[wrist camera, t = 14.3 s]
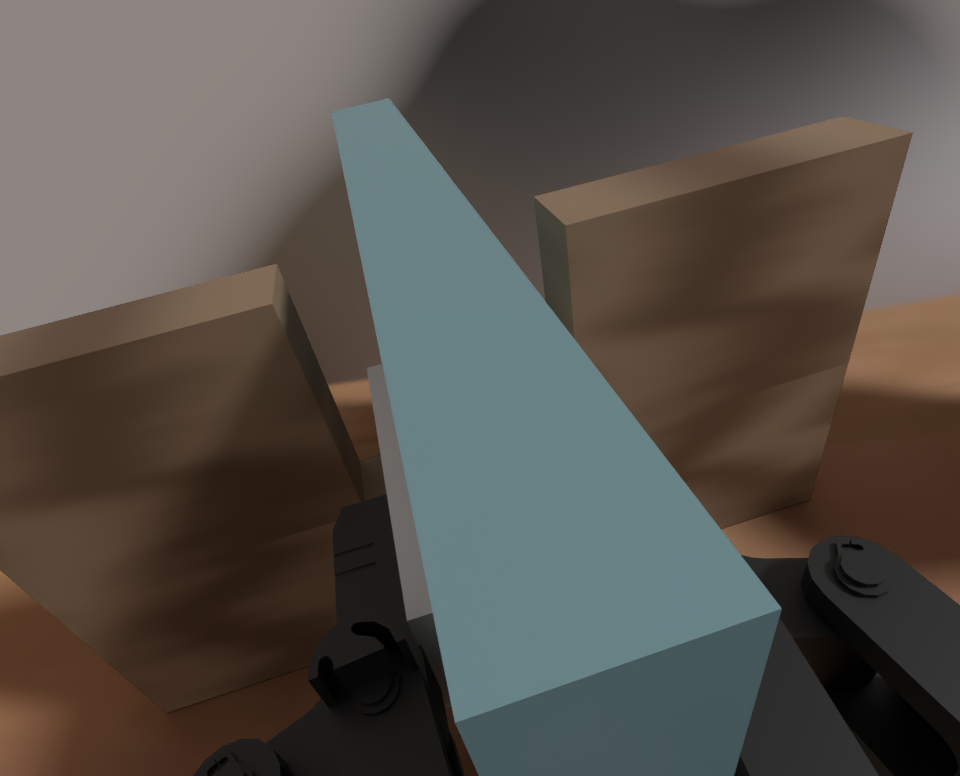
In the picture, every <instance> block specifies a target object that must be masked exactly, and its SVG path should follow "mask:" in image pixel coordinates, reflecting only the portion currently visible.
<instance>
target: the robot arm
mask: <svg viewBox="0 0 960 776" xmlns="http://www.w3.org/2000/svg"><path fill="white" fill-rule="evenodd" d="M367 373H368V380H369V386H370V392H371V398H372V405H373V411H374V417H375V424H376V430H377V436H378V442H379V449H380V455H381V461H382V468H383V474H384V480H385V486H386V493H387V494H385V495H382V496H379V497H375V498H372V499H369V500H365V501H362V502H359V503H356V504H352V505H349V506H346V507H342V509H341V512H340V514H339V516H338V519H337V521H336V524H335V526H334V529H333V531H332V532H333V553H334V558H335V559H334V574H335V578H336V579H335V595H336V616H337V625H336V626H334V627H333V628H332V629H331V630H330V631H329V632H328V633H327V634H326V635H325V636H324V638H323V639H322V640H321V641H320V642H319V643H318V646H317V648H316V650H315V652H314V654H313V656H312V659H311V661H310V669H309V680H308V681H309V682H310V684H311V685H312V686H313V688H314V689H315V690H316V692H317V693H318V694H319V696H320V697H321V699H320V700H319V702H318V703H317V704H316V705H315V707H313V708H312V709H311V710H310V711H309V712H308V713H306V714H305V715H304V716H303V717H302V718H300V719H299V720H297V721H296V722H295V723H293V724H292V725H290V726H289V727H288V728H286V729H285V730H283V731H282V732H281V733H279V734H278V735H276V736H275V737H274V738H272V739H271V740H270V741H268V742H267V743H264V742H262V741H260V740H259V739H240V740H238V741H235V742H233V743H230V744H228V745H225V746H223V747H221V748H220V749H219V750H218V751H216V752H215V753H214V754H213V755H211V756H210V757H209V758H208V759H206V760H205V761H204V762H203V763H202V765H201V766H200V768H199V769H198V770H197V772H196V773H195V774H194V776H465V775H464V771H463V768H462V765H461V761H460V758H459V755H458V751H457V748H456V745H455V742H454V740H453V738H452V736H451V734H450V731H449V727H448V722H447V717H446V711H445V706H446V708H449V707H452V706H451V701H450V696H449V691H448V686H447V681H446V676H445V671H444V666H443V661H442V656H441V652H440V647H439V642H438V637H437V632H436V627H435V622H434V617H433V612H432V607H431V602H430V597H429V592H428V587H427V582H426V577H425V572H424V568H423V563H422V558H421V553H420V548H419V543H418V538H417V533H416V528H415V523H414V518H413V513H412V508H411V503H410V498H409V493H408V488H407V484H406V479H405V474H404V469H403V464H402V459H401V454H400V449H399V444H398V439H397V434H396V429H395V424H394V419H393V414H392V409H391V404H390V400H389V395H388V390H387V385H386V380H385V375H384V370H383V365H382V364H380V365H377V366H373V367H370V368H367ZM741 556H742V557H743V559H744V560H745V561H746V563H747V564H748V565H749V567H750V568H751V569H752V570H753V572H754V573H755V574H756V576H757V577H758V578H759V579H760V581H761V582H762V583H763V585H764V586H765V587H766V589H767V590H768V591H769V592H770V594H771V595H772V596H773V598H774V599H775V600H776V602H777V603H778V604H779V605H780V607H781V608H782V610H781V613H780V617H779V620H778V624H777V627H776V631H775V634H774V638H773V641H772V645H771V648H770V652H769V655H768V659H767V662H766V666H765V669H764V673H763V676H762V680H761V683H760V687H759V690H758V694H757V697H756V701H755V704H754V708H753V711H752V715H751V718H750V722H749V725H748V729H747V732H746V736H745V739H744V743H743V746H742V750H741V753H740V757H739V760H738V764H737V767H736V771H735V774H734V776H960V605H959V604H958V603H956V602H955V601H954V600H952V599H951V598H950V597H949V596H947V595H946V594H945V593H944V592H942V591H941V590H940V589H939V588H937V587H936V586H935V585H933V584H932V583H931V582H930V581H928V580H927V579H926V578H925V577H923V576H922V575H921V574H920V573H918V572H917V571H916V570H914V569H913V568H912V567H911V566H909V565H908V564H907V563H906V562H904V561H903V560H902V559H900V558H899V557H898V556H897V555H895V554H894V553H892V552H890V551H889V550H887V549H885V548H884V547H882V546H880V545H879V544H877V543H874V542H871V541H868V540H865V539H861V538H858V537H847V536H835V537H832V538H828V539H824V540H821V541H820V542H819V543H818V544H817V545H816V546H814V547H813V548H812V549H811V551H810V554H809V557H808V558H771V559H763V558H751V557H747V556H743V555H741ZM444 704H445V706H444Z"/></svg>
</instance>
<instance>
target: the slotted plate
mask: <svg viewBox="0 0 960 776" xmlns="http://www.w3.org/2000/svg"><path fill="white" fill-rule="evenodd" d="M331 113H332V118H333V122H334V128H335V133H336V137H337V143H338V147H339V152H340V157H341V162H342V167H343V172H344V177H345V182H346V187H347V192H348V196H349V202H350V206H351V212H352V217H353V222H354V227H355V231H356V236H357V241H358V246H359V251H360V256H361V261H362V266H363V271H364V276H365V281H366V286H367V290H368V296H369V300H370V305H371V311H372V315H373V320H374V325H375V330H376V335H377V340H378V345H379V350H380V355H381V360H382V365H383V370H384V375H385V380H386V385H387V390H388V395H389V400H390V404H391V409H392V414H393V419H394V424H395V429H396V434H397V439H398V444H399V449H400V454H401V459H402V464H403V469H404V474H405V479H406V484H407V488H408V493H409V498H410V503H411V508H412V513H413V518H414V523H415V528H416V533H417V538H418V543H419V548H420V553H421V558H422V563H423V568H424V572H425V577H426V582H427V587H428V592H429V597H430V602H431V607H432V612H433V617H434V622H435V627H436V632H437V637H438V642H439V647H440V652H441V656H442V661H443V666H444V671H445V676H446V681H447V686H448V691H449V696H450V701H451V706H452V711H453V716H454V721H455V724H456V726H457V729H458V731H459V733H460V735H461V737H462V740H463V742H464V744H465V746H466V749H467V751H468V753H469V755H470V757H471V760H472V762H473V764H474V766H475V768H476V771H477V773H478V775H479V776H734V774H735V771H736V767H737V764H738V760H739V757H740V753H741V750H742V746H743V743H744V739H745V736H746V732H747V729H748V725H749V722H750V718H751V715H752V711H753V708H754V704H755V701H756V697H757V694H758V690H759V687H760V683H761V680H762V676H763V673H764V669H765V666H766V662H767V659H768V655H769V652H770V648H771V645H772V641H773V638H774V634H775V631H776V627H777V624H778V620H779V617H780V613H781V610H782V608H781V607H780V605H779V604H778V603H777V602H776V600H775V599H774V598H773V596H772V595H771V594H770V592H769V591H768V590H767V589H766V587H765V586H764V585H763V583H762V582H761V581H760V579H759V578H758V577H757V576H756V574H755V573H754V572H753V570H752V569H751V568H750V567H749V565H748V564H747V563H746V561H745V560H744V559H743V557H742V556H741V555H740V554H739V552H738V551H737V550H736V548H735V547H734V546H733V544H732V543H731V542H730V541H729V539H728V538H727V537H726V535H725V534H724V533H723V531H722V530H721V529H720V528H719V526H718V525H717V524H716V522H715V521H714V520H713V518H712V517H711V516H710V515H709V513H708V512H707V511H706V509H705V508H704V507H703V505H702V504H701V503H700V502H699V500H698V499H697V498H696V496H695V495H694V494H693V492H692V491H691V490H690V489H689V487H688V486H687V485H686V483H685V482H684V481H683V480H682V478H681V477H680V476H679V474H678V473H677V472H676V470H675V469H674V468H673V467H672V465H671V464H670V463H669V461H668V460H667V459H666V457H665V456H664V455H663V454H662V452H661V451H660V450H659V448H658V447H657V446H656V444H655V443H654V442H653V441H652V439H651V438H650V437H649V435H648V434H647V433H646V431H645V430H644V429H643V428H642V426H641V425H640V424H639V422H638V421H637V420H636V418H635V417H634V416H633V415H632V413H631V412H630V411H629V409H628V408H627V407H626V405H625V404H624V403H623V402H622V400H621V399H620V398H619V396H618V395H617V394H616V393H615V391H614V390H613V389H612V387H611V386H610V385H609V383H608V382H607V381H606V380H605V378H604V377H603V376H602V374H601V373H600V372H599V370H598V369H597V368H596V367H595V365H594V364H593V363H592V361H591V360H590V359H589V357H588V356H587V355H586V354H585V352H584V351H583V350H582V348H581V347H580V346H579V344H578V343H577V342H576V341H575V339H574V338H573V337H572V335H571V334H570V333H569V331H568V330H567V329H566V328H565V326H564V325H563V324H562V322H561V321H560V320H559V318H558V317H557V316H556V315H555V313H554V312H553V311H552V309H551V308H550V307H549V306H548V304H547V303H546V302H545V300H544V299H543V298H542V297H541V295H540V294H539V293H538V291H537V290H536V289H535V288H534V286H533V285H532V283H531V282H530V281H529V280H528V278H527V277H526V276H525V274H524V273H523V272H522V271H521V269H520V268H519V267H518V266H517V264H516V263H515V261H514V260H513V259H512V257H511V256H510V255H509V254H508V252H507V251H506V250H505V249H504V247H503V246H502V244H501V243H500V242H499V241H498V239H497V238H496V237H495V235H494V234H493V233H492V231H491V230H490V229H489V228H488V226H487V225H486V224H485V222H484V221H483V220H482V219H481V217H480V216H479V215H478V213H477V212H476V211H475V209H474V208H473V207H472V206H471V204H470V203H469V202H468V200H467V199H466V198H465V196H464V195H463V194H462V193H461V191H460V190H459V189H458V187H457V186H456V185H455V183H454V182H453V181H452V180H451V178H450V177H449V176H448V174H447V173H446V172H445V170H444V169H443V168H442V167H441V165H440V164H439V163H438V162H437V160H436V159H435V157H434V156H433V155H432V154H431V152H430V151H429V150H428V148H427V147H426V146H425V145H424V143H423V142H422V141H421V139H420V138H419V137H418V136H417V134H416V133H415V131H414V130H413V129H412V128H411V126H410V125H409V124H408V122H407V121H406V120H405V119H404V117H403V116H402V115H401V113H400V112H399V111H398V110H397V108H396V107H395V106H394V104H393V103H392V102H391V100H390V99H385V100H380V101H376V102H371V103H367V104H363V105H358V106H354V107H350V108H346V109H341V110H337V111H333V112H331Z"/></svg>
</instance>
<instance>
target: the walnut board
mask: <svg viewBox="0 0 960 776" xmlns="http://www.w3.org/2000/svg"><path fill="white" fill-rule="evenodd" d="M912 134H913V133H912V132H908V131H904V130H899V129H895V128H891V127H887V126H882V125H878V124H874V123H870V122H865V121H861V120H857V119H853V118H848V117H844V116H842V117H838V118H835V119H831V120H827V121H823V122H819V123H815V124H812V125H808V126H804V127H800V128H796V129H793V130H789V131H785V132H781V133H777V134H773V135H770V136H766V137H762V138H758V139H754V140H750V141H746V142H742V143H739V144H735V145H731V146H727V147H723V148H719V149H716V150H712V151H708V152H704V153H700V154H696V155H693V156H689V157H685V158H681V159H678V160H673V161H670V162H666V163H662V164H658V165H654V166H650V167H647V168H643V169H639V170H635V171H631V172H628V173H624V174H620V175H616V176H612V177H608V178H604V179H600V180H597V181H593V182H589V183H585V184H581V185H577V186H574V187H570V188H566V189H562V190H558V191H555V192H551V193H547V194H543V195H540V196H536V197H534V202H535V210H536V220H537V228H538V237H539V246H540V256H541V265H542V273H543V283H544V290H545V291H544V292H545V301H546V303H547V304H548V306H549V307H550V308H551V309H552V311H553V312H554V313H555V315H556V316H557V317H558V318H559V320H560V321H561V322H562V324H563V325H564V326H565V328H566V329H567V330H568V331H569V333H570V334H571V335H572V337H573V338H574V339H575V341H576V342H577V343H578V344H579V346H580V347H581V348H582V350H583V351H584V352H585V354H586V355H587V356H588V357H589V359H590V360H591V361H592V363H593V364H594V365H595V367H596V368H597V369H598V370H599V372H600V373H601V374H602V376H603V377H604V378H605V380H606V381H607V382H608V383H609V385H610V386H611V387H612V389H613V390H614V391H615V393H616V394H617V395H618V396H619V398H620V399H621V400H622V402H623V403H624V404H625V405H626V407H627V408H628V409H629V411H630V412H631V413H632V415H633V416H634V417H635V418H636V420H637V421H638V422H639V424H640V425H641V426H642V428H643V429H644V430H645V431H646V433H647V434H648V435H649V437H650V438H651V439H652V441H653V442H654V443H655V444H656V446H657V447H658V448H659V450H660V451H661V452H662V454H663V455H664V456H665V457H666V459H667V460H668V461H669V463H670V464H671V465H672V467H673V468H674V469H675V470H676V472H677V473H678V474H679V476H680V477H681V478H682V480H683V481H684V482H685V483H686V485H687V486H688V487H689V489H690V490H691V491H692V492H693V494H694V495H695V496H696V498H697V499H698V500H699V502H700V503H701V504H702V505H703V507H704V508H705V509H706V511H707V512H708V513H709V515H710V516H711V517H712V518H713V520H714V521H715V522H716V524H717V525H718V526H719V528H720V529H722V528H725V527H728V526H731V525H734V524H737V523H740V522H743V521H746V520H749V519H752V518H755V517H758V516H761V515H764V514H767V513H770V512H773V511H776V510H779V509H782V508H785V507H788V506H791V505H794V504H797V503H800V502H803V501H806V500H809V499H810V498H811V494H812V491H813V487H814V483H815V480H816V476H817V473H818V469H819V466H820V462H821V458H822V455H823V451H824V448H825V444H826V441H827V437H828V433H829V430H830V426H831V423H832V419H833V416H834V412H835V408H836V405H837V401H838V398H839V394H840V391H841V387H842V384H843V380H844V376H845V373H846V369H847V366H848V362H849V359H850V355H851V351H852V348H853V344H854V341H855V337H856V334H857V330H858V326H859V323H860V319H861V316H862V312H863V309H864V305H865V301H866V298H867V294H868V291H869V287H870V283H871V280H872V276H873V273H874V269H875V266H876V262H877V258H878V255H879V251H880V248H881V244H882V241H883V237H884V233H885V230H886V226H887V223H888V219H889V216H890V212H891V209H892V205H893V201H894V198H895V194H896V191H897V187H898V184H899V180H900V176H901V173H902V169H903V166H904V162H905V159H906V155H907V151H908V148H909V144H910V140H911V137H912ZM385 494H387V493H386V486H385V480H384V474H383V468H382V461H381V455H379V456H376V457H372V458H369V459H366V460H362V461H359V458H358V456H357V453H356V451H355V449H354V446H353V444H352V442H351V439H350V437H349V434H348V432H347V430H346V427H345V425H344V423H343V420H342V418H341V415H340V413H339V411H338V408H337V406H336V404H335V401H334V399H333V396H332V394H331V392H330V389H329V387H328V385H327V382H326V380H325V377H324V375H323V373H322V370H321V368H320V366H319V363H318V361H317V358H316V356H315V354H314V351H313V349H312V347H311V344H310V342H309V339H308V337H307V335H306V332H305V330H304V327H303V325H302V323H301V320H300V318H299V316H298V313H297V311H296V308H295V306H294V304H293V302H292V299H291V297H290V294H289V292H288V290H287V287H286V285H285V282H284V280H283V278H282V275H281V273H280V271H279V268H278V266H277V264H274V265H271V266H266V267H263V268H259V269H255V270H251V271H247V272H243V273H240V274H236V275H232V276H228V277H225V278H221V279H216V280H213V281H209V282H205V283H201V284H197V285H194V286H190V287H186V288H182V289H178V290H174V291H171V292H167V293H163V294H159V295H155V296H152V297H147V298H144V299H140V300H136V301H132V302H128V303H125V304H121V305H117V306H114V307H110V308H105V309H102V310H98V311H94V312H90V313H86V314H82V315H78V316H74V317H71V318H67V319H63V320H59V321H55V322H52V323H48V324H44V325H40V326H37V327H32V328H28V329H25V330H21V331H17V332H13V333H10V334H5V335H1V336H0V570H1V571H2V572H3V573H4V574H5V575H6V576H8V577H9V578H10V579H11V580H12V581H13V582H15V583H16V584H17V585H18V586H19V587H20V588H22V589H23V590H24V591H25V592H26V593H27V594H29V595H30V596H31V597H32V598H33V599H34V600H35V601H37V602H38V603H39V604H40V605H41V606H42V607H44V608H45V609H46V610H47V611H48V612H49V613H51V614H52V615H53V616H54V617H55V618H56V619H58V620H59V621H60V622H61V623H62V624H63V625H64V626H66V627H67V628H68V629H69V630H70V631H71V632H73V633H74V634H75V635H76V636H77V637H78V638H80V639H81V640H82V641H83V642H84V643H85V644H86V645H88V646H89V647H90V648H91V649H92V650H93V651H95V652H96V653H97V654H98V655H99V656H100V657H102V658H103V659H104V660H105V661H106V662H107V663H109V664H110V665H111V666H112V667H113V668H114V669H115V670H117V671H118V672H119V673H120V674H121V675H122V676H124V677H125V678H126V679H127V680H128V681H129V682H131V683H132V684H133V685H134V686H135V687H136V688H138V689H139V690H140V691H141V692H142V693H143V694H144V695H146V696H147V697H148V698H149V699H150V700H151V701H153V702H154V703H155V704H156V705H157V706H158V707H160V708H161V709H162V710H163V711H164V712H165V713H168V712H171V711H174V710H177V709H180V708H183V707H186V706H189V705H192V704H195V703H198V702H201V701H204V700H207V699H210V698H213V697H216V696H219V695H222V694H225V693H228V692H231V691H234V690H237V689H240V688H243V687H246V686H249V685H252V684H255V683H258V682H261V681H264V680H267V679H271V678H274V677H277V676H280V675H283V674H286V673H289V672H292V671H295V670H298V669H301V668H304V667H307V666H310V661H311V659H312V656H313V654H314V652H315V650H316V648H317V646H318V643H319V642H320V641H321V640H322V639H323V638H324V636H325V635H326V634H327V633H328V632H329V631H330V630H331V629H332V628H333V627H334V626H336V625H337V616H336V595H335V579H336V578H335V574H334V559H335V558H334V553H333V532H332V531H333V529H334V526H335V524H336V521H337V519H338V516H339V514H340V512H341V509H342V507H346V506H349V505H352V504H356V503H359V502H362V501H365V500H369V499H372V498H375V497H379V496H382V495H385Z"/></svg>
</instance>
